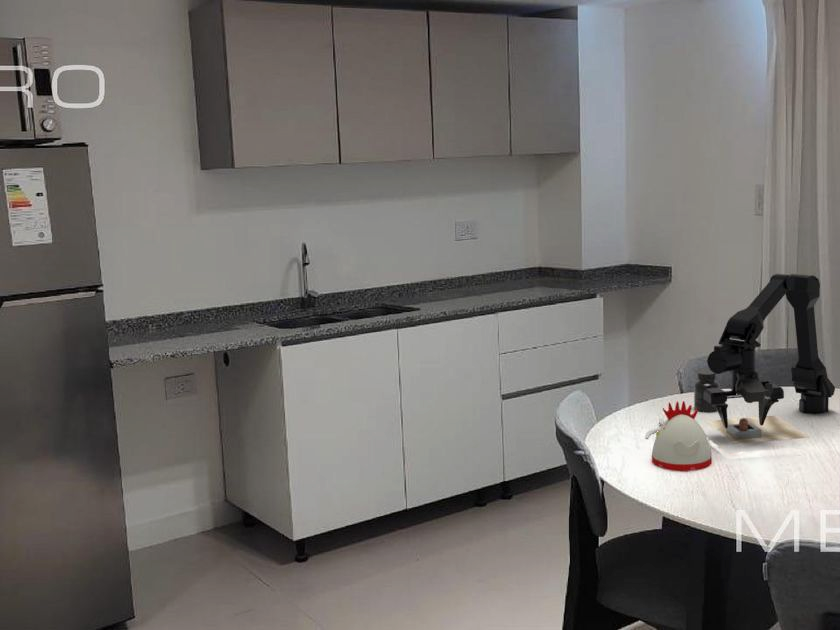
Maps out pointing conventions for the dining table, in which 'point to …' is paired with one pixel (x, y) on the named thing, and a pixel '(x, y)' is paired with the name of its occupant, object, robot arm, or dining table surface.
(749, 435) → the grey square frame
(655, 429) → the pliers
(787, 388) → the dining table surface
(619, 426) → the dining table surface
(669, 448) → the kitchen timer
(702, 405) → the supplement bottle
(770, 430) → the keeper board
